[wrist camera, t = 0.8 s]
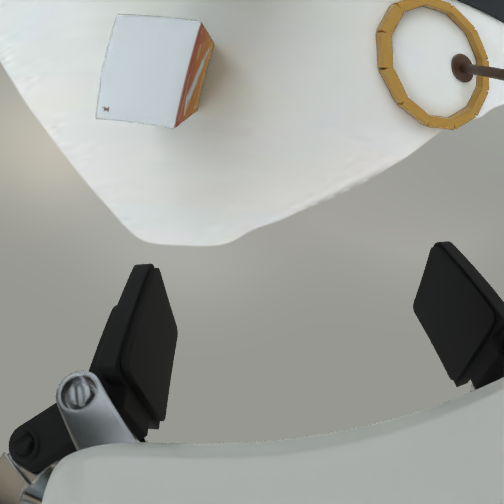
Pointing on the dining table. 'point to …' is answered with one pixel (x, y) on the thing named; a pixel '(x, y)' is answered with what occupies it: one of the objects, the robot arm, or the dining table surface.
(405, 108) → the ring
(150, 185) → the dining table surface
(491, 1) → the mat
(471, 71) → the post
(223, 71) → the dining table surface
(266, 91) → the dining table surface
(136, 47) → the small box
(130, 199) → the dining table surface
